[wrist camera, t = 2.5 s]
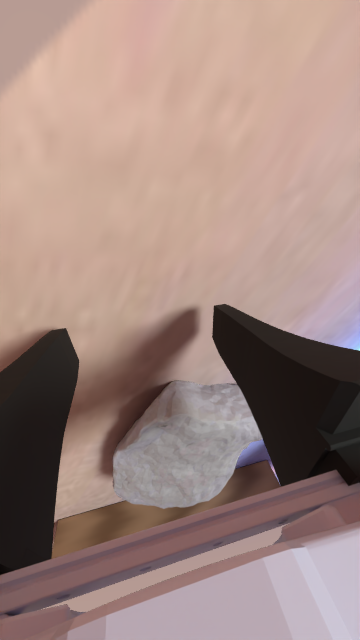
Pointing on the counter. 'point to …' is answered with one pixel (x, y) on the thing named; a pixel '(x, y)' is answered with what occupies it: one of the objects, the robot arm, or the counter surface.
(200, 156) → the counter surface
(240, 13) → the counter surface
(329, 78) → the counter surface
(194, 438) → the stone block
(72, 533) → the walnut wall
